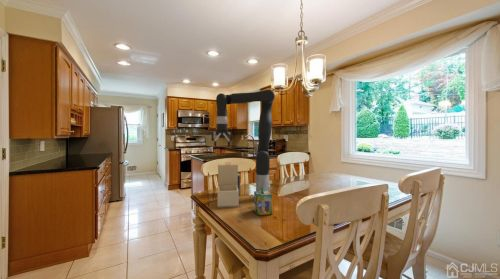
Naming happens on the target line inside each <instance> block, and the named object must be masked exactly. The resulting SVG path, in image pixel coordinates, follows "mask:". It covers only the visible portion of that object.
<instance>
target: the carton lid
mask: <svg viewBox="0 0 500 279" xmlns="http://www.w3.org/2000/svg"><path fill="white" fill-rule="evenodd" d="M238 172H239V164H232V163H231V162H224V164H218V165H217V186H218V185H238Z"/></svg>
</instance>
